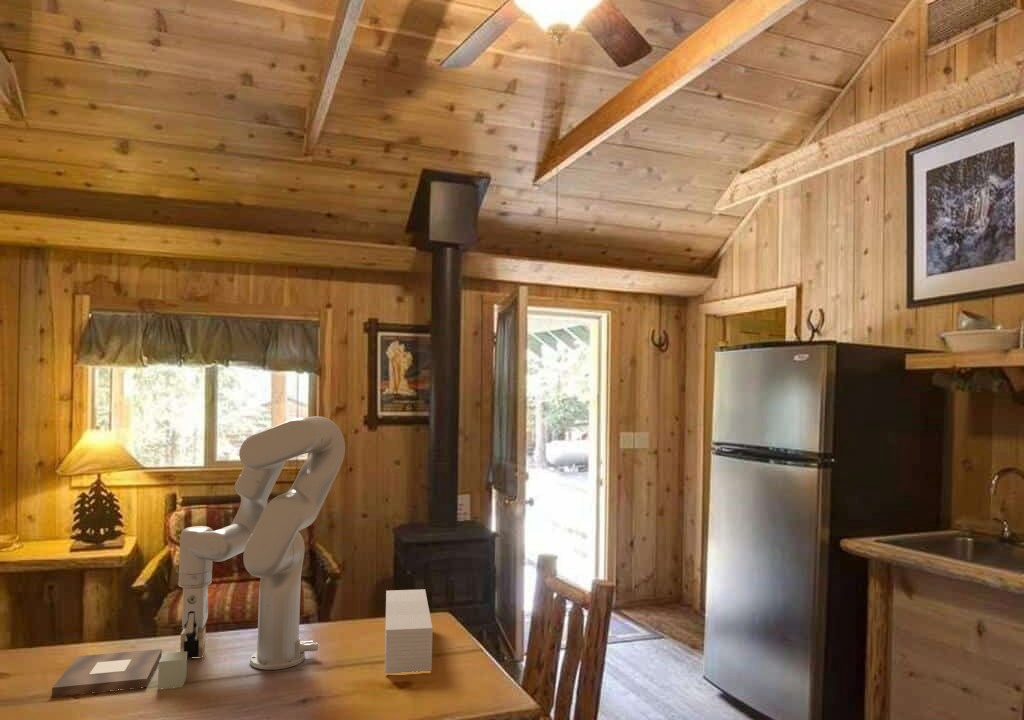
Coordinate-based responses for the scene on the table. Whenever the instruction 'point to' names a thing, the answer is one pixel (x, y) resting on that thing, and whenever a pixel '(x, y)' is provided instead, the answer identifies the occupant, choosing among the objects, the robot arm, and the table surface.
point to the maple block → (200, 637)
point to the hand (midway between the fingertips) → (192, 652)
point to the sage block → (172, 670)
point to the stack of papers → (407, 632)
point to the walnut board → (108, 672)
